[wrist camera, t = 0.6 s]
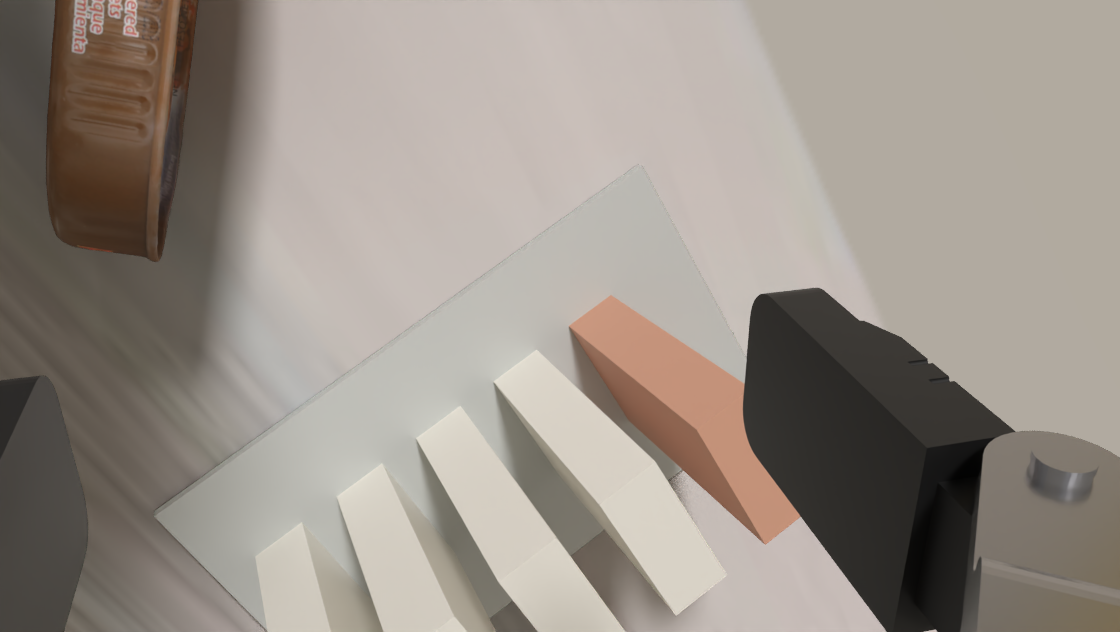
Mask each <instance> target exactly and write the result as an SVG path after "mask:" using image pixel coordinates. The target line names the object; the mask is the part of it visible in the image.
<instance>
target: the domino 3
mask: <svg viewBox="0 0 1120 632" xmlns="http://www.w3.org/2000/svg"><path fill="white" fill-rule="evenodd" d="M416 439H417V441H418V443H419V445H420V446H421V448H422V450H423V452H424V453H425V455H426V457H427V459H428V460H429V462H430V464H431V465H432V467H433V469H434V471H435V472H436V474H437V476H438V478H439V479H440V481H441V483H442V485H443V486H444V488H445V490H446V492H447V493H448V495H449V497H450V499H451V500H452V502H453V504H454V506H455V507H456V509H457V511H458V513H459V514H460V516H461V518H462V520H463V521H464V523H465V525H466V527H467V528H468V530H469V532H470V534H471V535H472V537H473V539H474V540H475V542H476V544H477V546H478V547H479V549H480V551H481V553H482V554H483V556H484V558H485V560H486V561H487V563H488V565H489V567H490V568H491V570H492V572H493V574H494V575H495V577H496V579H497V581H498V582H499V584H500V585H501V586H502V587H503V589H504V590H505V591H506V592H507V594H508V595H509V596H510V597H511V599H512V600H513V601H514V602H515V604H516V605H517V606H518V607H519V609H520V610H521V611H522V612H523V614H524V615H525V616H526V617H527V619H528V620H529V621H530V622H531V624H532V625H533V626H534V627H535V629H536V630H537V631H538V632H625V630H624V629H623V627H622V626H621V625H620V623H619V622H618V621H617V619H616V618H615V617H614V615H613V614H612V612H611V611H610V610H609V608H608V607H607V606H606V604H605V603H604V601H603V600H602V599H601V597H600V596H599V595H598V593H597V592H596V590H595V589H594V588H593V586H592V585H591V584H590V582H589V581H588V579H587V578H586V577H585V575H584V574H583V573H582V571H581V570H580V569H579V567H578V566H577V564H576V563H575V562H574V560H573V559H572V558H571V556H570V555H569V553H568V552H567V551H566V549H565V548H564V547H563V545H562V544H561V542H560V541H559V540H558V538H557V537H556V536H555V534H554V533H553V531H552V530H551V529H550V527H549V526H548V525H547V523H546V522H545V520H544V519H543V518H542V516H541V515H540V514H539V512H538V511H537V510H536V508H535V507H534V505H533V504H532V503H531V501H530V500H529V499H528V497H527V496H526V494H525V493H524V492H523V490H522V489H521V488H520V486H519V485H518V484H517V482H516V481H515V479H514V478H513V477H512V475H511V474H510V473H509V471H508V470H507V469H506V467H505V466H504V464H503V463H502V462H501V460H500V459H499V458H498V456H497V455H496V454H495V452H494V451H493V449H492V448H491V447H490V445H489V444H488V443H487V441H486V440H485V439H484V437H483V436H482V434H481V433H480V432H479V430H478V429H477V428H476V426H475V425H474V424H473V422H472V421H471V419H470V418H469V417H468V415H467V414H466V413H465V411H464V410H463V409H462V407H461V406H459V407H458V408H457V409H455V410H454V411H452V412H451V413H450V414H448V415H447V416H446V417H444V418H443V419H442V420H440V421H439V422H437V423H436V424H435V425H433V426H432V427H431V428H429V429H428V430H427V431H425V432H424V433H423V434H421V435H420V436H418V437H417V438H416Z"/></svg>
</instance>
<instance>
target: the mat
mask: <svg viewBox="0 0 1120 632" xmlns="http://www.w3.org/2000/svg"><path fill="white" fill-rule="evenodd" d="M610 295H612V296H613V297H615V298H616V299H618V300H619V301H621V302H622V303H624V304H625V305H627V306H628V307H630V308H631V309H633V310H634V311H636V312H637V313H639V314H640V315H642V316H643V317H645V318H646V319H648V320H649V321H651V322H652V323H654V324H655V325H657V326H658V327H660V328H661V329H663V330H664V331H666V332H667V333H669V334H670V335H672V336H673V337H675V338H676V339H678V340H679V341H681V342H682V343H684V344H685V345H687V346H689V347H690V348H692V349H693V350H695V351H696V352H698V353H699V354H701V355H702V356H704V357H705V358H707V359H708V360H710V361H711V362H713V363H714V364H716V365H717V366H719V367H720V368H722V369H723V370H725V371H726V372H728V373H729V374H731V375H732V376H734V377H735V378H737V379H738V380H740V381H741V382H743V383H744V384H745V373H746V361H747V358H746V356H745V354H744V353H743V351H742V349H741V347H740V345H739V343H738V341H737V340H736V338H735V336H734V334H733V332H732V330H731V329H730V327H729V325H728V323H727V321H726V319H725V317H724V316H723V314H722V312H721V310H720V308H719V306H718V305H717V303H716V301H715V299H714V297H713V295H712V293H711V292H710V290H709V288H708V286H707V284H706V282H705V280H704V279H703V277H702V275H701V273H700V271H699V269H698V268H697V266H696V264H695V262H694V260H693V258H692V256H691V255H690V253H689V251H688V249H687V247H686V245H685V243H684V242H683V240H682V238H681V236H680V234H679V232H678V231H677V229H676V227H675V225H674V223H673V221H672V219H671V218H670V216H669V214H668V212H667V210H666V208H665V207H664V205H663V203H662V201H661V199H660V197H659V195H658V194H657V192H656V190H655V188H654V186H653V184H652V182H651V181H650V179H649V177H648V175H647V173H646V171H645V170H644V168H643V166H641V165H637V166H635V167H634V168H633V169H631V170H630V171H628V172H627V173H626V174H624V175H623V176H621V177H620V178H619V179H617V180H616V181H614V182H613V183H612V184H610V185H609V186H607V187H606V188H605V189H603V190H602V191H600V192H599V193H598V194H596V195H595V196H593V197H592V198H591V199H589V200H588V201H586V202H585V203H584V204H582V205H581V206H580V207H578V208H577V209H575V210H574V211H573V212H571V213H570V214H568V215H567V216H566V217H564V218H563V219H561V220H560V221H559V222H557V223H556V224H554V225H553V226H552V227H550V228H549V229H547V230H546V231H545V232H543V233H542V234H540V235H539V236H538V237H536V238H535V239H533V240H532V241H531V242H529V243H528V244H526V245H525V246H524V247H522V248H521V249H519V250H518V251H517V252H515V253H514V254H513V255H511V256H510V257H508V258H507V259H506V260H504V261H503V262H501V263H500V264H499V265H497V266H496V267H494V268H493V269H492V270H490V271H489V272H487V273H486V274H485V275H483V276H482V277H480V278H479V279H478V280H476V281H475V282H473V283H472V284H471V285H469V286H468V287H466V288H465V289H464V290H462V291H461V292H459V293H458V294H457V295H455V296H454V297H452V298H451V299H450V300H448V301H447V302H446V303H444V304H443V305H441V306H440V307H439V308H437V309H436V310H434V311H433V312H432V313H430V314H429V315H427V316H426V317H425V318H423V319H422V320H420V321H419V322H418V323H416V324H415V325H413V326H412V327H411V328H409V329H408V330H406V331H405V332H404V333H402V334H401V335H399V336H398V337H397V338H395V339H394V340H392V341H391V342H390V343H388V344H387V345H385V346H384V347H383V348H381V349H380V350H378V351H377V352H376V353H374V354H373V355H372V356H370V357H369V358H367V359H366V360H365V361H363V362H362V363H360V364H359V365H358V366H356V367H355V368H353V369H352V370H351V371H349V372H348V373H346V374H345V375H344V376H342V377H341V378H339V379H338V380H337V381H335V382H334V383H332V384H331V385H330V386H328V387H327V388H325V389H324V390H323V391H321V392H320V393H318V394H317V395H316V396H314V397H313V398H311V399H310V400H309V401H307V402H306V403H305V404H303V405H302V406H300V407H299V408H298V409H296V410H295V411H293V412H292V413H291V414H289V415H288V416H286V417H285V418H284V419H282V420H281V421H279V422H278V423H277V424H275V425H274V426H272V427H271V428H270V429H268V430H267V431H265V432H264V433H263V434H261V435H260V436H258V437H257V438H256V439H254V440H253V441H251V442H250V443H249V444H247V445H246V446H244V447H243V448H242V449H240V450H239V451H238V452H236V453H235V454H233V455H232V456H231V457H229V458H228V459H226V460H225V461H224V462H222V463H221V464H219V465H218V466H217V467H215V468H214V469H212V470H211V471H210V472H208V473H207V474H205V475H204V476H203V477H201V478H200V479H198V480H197V481H196V482H194V483H193V484H191V485H190V486H189V487H187V488H186V489H184V490H183V491H182V492H180V493H179V494H177V495H176V496H175V497H173V498H172V499H171V500H169V501H168V502H166V503H165V504H164V505H162V506H161V507H159V508H158V509H157V510H155V511H154V517H155V518H156V519H157V520H158V521H159V522H160V523H161V524H162V525H163V526H164V527H165V528H166V529H167V530H168V531H169V532H170V533H171V534H172V535H173V536H174V537H175V538H176V539H177V540H178V541H179V542H180V543H181V544H182V545H183V546H184V547H185V548H186V549H187V550H188V551H189V552H190V553H191V554H192V555H193V556H194V557H195V558H196V559H197V560H198V561H199V562H200V563H201V564H202V565H203V567H204V568H205V569H206V570H207V571H208V572H209V573H210V574H211V575H212V576H213V577H214V578H215V579H216V580H217V581H218V582H219V583H220V584H221V585H222V586H223V587H224V588H225V589H226V590H227V591H228V592H229V593H230V594H231V595H232V596H233V597H234V598H235V599H236V600H237V601H238V602H239V603H240V604H241V605H242V606H243V607H244V608H245V609H246V610H247V611H248V612H249V613H250V614H251V615H252V616H253V617H254V618H255V619H256V620H257V621H258V622H259V623H260V624H261V625H262V626H263V627H264V628H265V629H266V630H267V626H266V620H265V613H264V607H263V601H262V595H261V589H260V583H259V577H258V571H257V565H256V559H255V556H257V555H258V554H259V553H261V552H262V551H263V550H265V549H266V548H267V547H269V546H270V545H272V544H273V543H274V542H276V541H277V540H278V539H280V538H281V537H282V536H284V535H285V534H286V533H288V532H289V531H291V530H292V529H293V528H295V527H296V526H297V525H299V524H300V523H301V522H302V523H303V524H304V525H305V526H306V527H307V528H308V529H309V531H310V532H311V533H312V534H313V535H314V536H315V537H316V538H317V540H318V541H319V542H320V543H321V544H322V545H323V546H324V547H325V548H326V550H327V551H328V552H329V553H330V554H331V555H332V556H333V557H334V559H335V560H336V561H337V562H338V563H339V564H340V565H341V566H342V567H343V569H344V570H345V571H346V572H347V573H348V574H349V575H350V576H351V577H352V579H353V580H354V581H355V582H356V583H357V584H358V585H359V586H360V588H361V589H362V590H363V591H364V592H365V593H366V594H367V595H368V596H369V598H370V599H371V600H372V597H371V594H370V591H369V589H368V586H367V583H366V580H365V577H364V574H363V571H362V568H361V566H360V563H359V560H358V557H357V554H356V551H355V548H354V545H353V543H352V540H351V537H350V534H349V531H348V528H347V525H346V522H345V520H344V517H343V514H342V511H341V508H340V505H339V502H338V499H337V496H338V495H340V494H341V493H342V492H344V491H345V490H346V489H348V488H349V487H350V486H352V485H353V484H354V483H356V482H357V481H359V480H360V479H361V478H363V477H364V476H365V475H367V474H368V473H369V472H371V471H372V470H374V469H375V468H376V467H378V466H379V465H380V464H383V465H384V466H385V467H386V468H387V470H388V471H389V472H390V473H391V475H392V476H393V477H394V478H395V480H396V481H397V482H398V483H399V485H400V486H401V487H402V488H403V489H404V491H405V492H406V493H407V494H408V496H409V497H410V498H411V499H412V501H413V502H414V503H415V504H416V506H417V507H418V508H419V509H420V510H421V512H422V513H423V514H424V515H425V517H426V518H427V519H428V520H429V522H430V523H431V524H432V525H433V526H434V528H435V529H436V530H437V531H438V533H439V534H440V535H441V536H442V538H443V539H444V540H445V541H446V543H447V544H448V545H449V546H450V547H451V549H452V550H453V551H454V552H455V554H456V556H457V558H458V560H459V562H460V564H461V565H462V567H463V569H464V571H465V573H466V575H467V577H468V579H469V581H470V583H471V584H472V586H473V588H474V590H475V592H476V594H477V596H478V598H479V600H480V602H481V604H482V605H483V607H484V609H485V611H486V613H487V615H488V617H489V619H490V618H491V617H492V616H494V615H495V614H496V613H498V612H499V611H500V610H501V609H503V608H504V607H505V606H507V605H508V604H509V603H510V602H512V601H513V600H512V599H511V597H510V596H509V595H508V594H507V592H506V591H505V590H504V589H503V587H502V586H501V585H500V584H499V582H498V581H497V579H496V577H495V575H494V574H493V572H492V570H491V568H490V567H489V565H488V563H487V561H486V560H485V558H484V556H483V554H482V553H481V551H480V549H479V547H478V546H477V544H476V542H475V540H474V539H473V537H472V535H471V534H470V532H469V530H468V528H467V527H466V525H465V523H464V521H463V520H462V518H461V516H460V514H459V513H458V511H457V509H456V507H455V506H454V504H453V502H452V500H451V499H450V497H449V495H448V493H447V492H446V490H445V488H444V486H443V485H442V483H441V481H440V479H439V478H438V476H437V474H436V472H435V471H434V469H433V467H432V465H431V464H430V462H429V460H428V459H427V457H426V455H425V453H424V452H423V450H422V448H421V446H420V445H419V443H418V441H417V439H416V438H417V437H418V436H420V435H421V434H423V433H424V432H425V431H427V430H428V429H429V428H431V427H432V426H433V425H435V424H436V423H437V422H439V421H440V420H442V419H443V418H444V417H446V416H447V415H448V414H450V413H451V412H452V411H454V410H455V409H457V408H458V407H459V406H461V407H462V409H463V410H464V411H465V413H466V414H467V415H468V417H469V418H470V419H471V421H472V422H473V424H474V425H475V426H476V428H477V429H478V430H479V432H480V433H481V434H482V436H483V437H484V439H485V440H486V441H487V443H488V444H489V445H490V447H491V448H492V449H493V451H494V452H495V454H496V455H497V456H498V458H499V459H500V460H501V462H502V463H503V464H504V466H505V467H506V469H507V470H508V471H509V473H510V474H511V475H512V477H513V478H514V479H515V481H516V482H517V484H518V485H519V486H520V488H521V489H522V490H523V492H524V493H525V494H526V496H527V497H528V499H529V500H530V501H531V503H532V504H533V505H534V507H535V508H536V510H537V511H538V512H539V514H540V515H541V516H542V518H543V519H544V520H545V522H546V523H547V525H548V526H549V527H550V529H551V530H552V531H553V533H554V534H555V536H556V537H557V538H558V540H559V541H560V542H561V544H562V545H563V547H564V548H565V549H566V551H567V552H568V553H569V555H570V556H571V555H572V554H574V553H575V552H576V551H578V550H579V549H580V548H582V547H583V546H584V545H585V544H587V543H588V542H589V541H591V540H592V539H593V538H594V537H596V536H597V535H598V534H600V533H601V532H602V531H603V530H604V529H603V527H602V526H601V525H600V524H599V523H598V521H597V520H596V519H595V518H594V516H593V515H592V514H591V513H590V512H589V510H588V509H587V508H586V507H585V506H584V504H583V503H582V502H581V501H580V500H579V498H578V497H577V496H576V495H575V494H574V492H573V491H572V490H571V489H570V488H569V486H568V485H567V484H566V483H565V482H564V480H563V479H562V478H561V477H560V475H559V474H558V473H557V471H556V470H555V469H554V467H553V466H552V464H551V463H550V461H549V460H548V459H547V457H546V456H545V454H544V453H543V452H542V450H541V449H540V447H539V446H538V444H537V443H536V442H535V440H534V439H533V437H532V436H531V434H530V433H529V432H528V430H527V429H526V427H525V426H524V424H523V423H522V422H521V420H520V419H519V417H518V416H517V415H516V413H515V412H514V410H513V409H512V407H511V406H510V405H509V403H508V402H507V400H506V399H505V397H504V396H503V395H502V393H501V392H500V390H499V389H498V387H497V386H496V385H495V383H494V382H493V381H495V380H496V379H497V378H499V377H500V376H501V375H503V374H504V373H505V372H507V371H508V370H510V369H511V368H512V367H514V366H515V365H516V364H518V363H519V362H520V361H522V360H523V359H525V358H526V357H527V356H529V355H530V354H531V353H533V352H534V351H535V350H538V351H539V352H540V353H541V354H542V355H543V356H544V357H545V358H546V359H547V360H548V361H549V362H550V363H551V364H552V365H553V366H555V367H556V368H557V369H558V370H559V371H560V372H561V373H562V374H563V375H564V376H565V377H566V378H567V379H568V380H569V381H570V382H571V383H573V384H574V385H575V386H576V387H577V388H578V389H579V390H580V391H581V392H582V393H583V394H584V395H585V396H586V397H587V398H588V399H589V400H591V401H592V402H593V403H594V404H595V405H596V406H597V407H598V408H599V409H600V410H601V411H602V412H603V413H604V414H605V415H606V416H608V417H609V418H610V419H611V420H612V421H613V422H614V423H615V424H616V425H617V426H618V427H619V428H620V429H621V430H622V431H623V432H624V433H626V434H627V435H628V436H629V437H630V438H631V439H632V440H633V441H634V442H635V443H636V444H637V445H638V446H639V447H640V448H641V449H643V450H644V451H645V452H646V453H647V454H648V455H649V456H650V457H651V458H652V459H653V460H654V461H655V462H656V463H657V465H658V467H659V468H660V470H661V471H662V473H663V474H664V476H665V478H666V479H667V481H668V480H669V479H671V478H672V477H673V476H675V475H676V474H677V473H678V472H680V471H681V470H682V469H681V468H680V467H679V466H678V465H677V464H676V463H675V462H674V461H673V460H671V459H670V458H669V457H668V456H667V455H666V454H665V453H664V452H663V451H662V450H660V449H659V448H658V447H657V446H656V445H655V444H654V443H653V442H652V441H651V440H649V439H648V438H647V437H646V436H645V435H644V434H643V433H642V432H641V431H640V430H638V429H637V428H636V427H635V426H634V425H633V424H632V423H631V422H630V421H629V420H628V419H627V417H626V415H625V414H624V412H623V411H622V409H621V408H620V406H619V404H618V403H617V401H616V400H615V398H614V397H613V395H612V393H611V392H610V390H609V389H608V387H607V386H606V384H605V382H604V381H603V379H602V378H601V376H600V374H599V373H598V371H597V370H596V368H595V367H594V365H593V363H592V362H591V360H590V359H589V357H588V356H587V354H586V352H585V351H584V349H583V348H582V346H581V345H580V343H579V341H578V340H577V338H576V337H575V335H574V334H573V332H572V330H571V329H570V327H569V325H571V324H572V323H573V322H575V321H576V320H578V319H579V318H580V317H582V316H583V315H584V314H586V313H587V312H588V311H590V310H591V309H593V308H594V307H595V306H597V305H598V304H599V303H601V302H602V301H603V300H605V299H606V298H608V297H609V296H610ZM372 601H373V600H372Z"/></svg>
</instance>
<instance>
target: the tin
mask: <svg viewBox="0 0 1120 632" xmlns="http://www.w3.org/2000/svg"><path fill="white" fill-rule="evenodd" d="M197 7H198V0H56V1H55V18H54V32H53V42H52V59H51V74H50V90H49V103H48V116H47V145H46V185H47V196H48V207H49V213H50V217H51V221H52V225H53V228H54V231H55V233H56V235H57V237H58V238H59V239H60V240H62V241H63V242H65V243H67V244H69V245H71V246H74V247H78V248H84V249H89V250H97V251H105V252H113V253H121V254H129V255H136V256H142V257H146V258H148V259H149V260H151V261H154V262H158V261H159V260H160V258H161V256H162V251H163V247H164V242H165V237H166V232H167V226H168V220H169V215H170V210H171V205H172V201H173V196H174V191H175V186H176V180H177V174H178V166H179V158H180V150H181V144H182V134H183V122H184V117H185V108H186V102H187V93H188V85H189V77H190V68H191V59H192V51H193V41H194V33H195V24H196V15H197Z"/></svg>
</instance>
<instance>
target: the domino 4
mask: <svg viewBox="0 0 1120 632" xmlns="http://www.w3.org/2000/svg"><path fill="white" fill-rule="evenodd" d="M493 382H494V383H495V385H496V386H497V387H498V389H499V390H500V392H501V393H502V395H503V396H504V397H505V399H506V400H507V402H508V403H509V405H510V406H511V407H512V409H513V410H514V412H515V413H516V415H517V416H518V417H519V419H520V420H521V422H522V423H523V424H524V426H525V427H526V429H527V430H528V432H529V433H530V434H531V436H532V437H533V439H534V440H535V442H536V443H537V444H538V446H539V447H540V449H541V450H542V452H543V453H544V454H545V456H546V457H547V459H548V460H549V461H550V463H551V464H552V466H553V467H554V469H555V470H556V471H557V473H558V474H559V475H560V477H561V478H562V479H563V480H564V482H565V483H566V484H567V485H568V486H569V488H570V489H571V490H572V491H573V492H574V494H575V495H576V496H577V497H578V498H579V500H580V501H581V502H582V503H583V504H584V506H585V507H586V508H587V509H588V510H589V512H590V513H591V514H592V515H593V516H594V518H595V519H596V520H597V521H598V523H599V524H600V525H601V526H602V527H603V529H604V530H605V531H606V532H607V533H608V535H609V536H610V537H611V538H612V539H613V541H614V542H615V543H616V544H617V545H618V547H619V548H620V549H621V550H622V551H623V553H624V554H625V555H626V556H627V558H628V559H629V560H630V561H631V562H632V564H633V565H634V566H635V567H636V568H637V570H638V571H639V572H640V573H641V574H642V576H643V577H644V578H645V579H646V580H647V582H648V583H649V584H650V585H651V586H652V588H653V589H654V590H655V591H656V592H657V594H658V595H659V596H660V597H661V599H662V600H663V601H664V602H665V603H666V605H667V606H668V607H669V608H670V609H671V611H672V612H673V613H674V614H675V615H676V616H677V615H678V614H679V613H680V612H682V611H683V610H684V609H685V608H687V607H688V606H689V605H690V604H692V603H693V602H694V601H696V600H697V599H698V598H699V597H701V596H702V595H703V594H704V593H706V592H707V591H708V590H709V589H711V588H712V587H713V586H714V585H716V584H717V583H718V582H719V581H721V580H722V579H723V578H724V577H726V576H727V574H726V572H725V571H724V569H723V567H722V566H721V564H720V563H719V561H718V560H717V558H716V556H715V555H714V553H713V552H712V550H711V549H710V547H709V545H708V544H707V542H706V541H705V539H704V537H703V536H702V534H701V533H700V531H699V530H698V528H697V526H696V525H695V523H694V522H693V520H692V519H691V517H690V515H689V514H688V512H687V511H686V509H685V508H684V506H683V504H682V503H681V501H680V500H679V498H678V497H677V495H676V493H675V492H674V490H673V489H672V487H671V486H670V484H669V482H668V481H667V479H666V478H665V476H664V474H663V473H662V471H661V470H660V468H659V467H658V465H657V463H656V462H655V461H654V460H653V459H652V458H651V457H650V456H649V455H648V454H647V453H646V452H645V451H644V450H643V449H641V448H640V447H639V446H638V445H637V444H636V443H635V442H634V441H633V440H632V439H631V438H630V437H629V436H628V435H627V434H626V433H624V432H623V431H622V430H621V429H620V428H619V427H618V426H617V425H616V424H615V423H614V422H613V421H612V420H611V419H610V418H609V417H608V416H606V415H605V414H604V413H603V412H602V411H601V410H600V409H599V408H598V407H597V406H596V405H595V404H594V403H593V402H592V401H591V400H589V399H588V398H587V397H586V396H585V395H584V394H583V393H582V392H581V391H580V390H579V389H578V388H577V387H576V386H575V385H574V384H573V383H571V382H570V381H569V380H568V379H567V378H566V377H565V376H564V375H563V374H562V373H561V372H560V371H559V370H558V369H557V368H556V367H555V366H553V365H552V364H551V363H550V362H549V361H548V360H547V359H546V358H545V357H544V356H543V355H542V354H541V353H540V352H539V351H538V350H535V351H534V352H533V353H531V354H530V355H529V356H527V357H526V358H525V359H523V360H522V361H520V362H519V363H518V364H516V365H515V366H514V367H512V368H511V369H510V370H508V371H507V372H505V373H504V374H503V375H501V376H500V377H499V378H497V379H496V380H495V381H493Z"/></svg>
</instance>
